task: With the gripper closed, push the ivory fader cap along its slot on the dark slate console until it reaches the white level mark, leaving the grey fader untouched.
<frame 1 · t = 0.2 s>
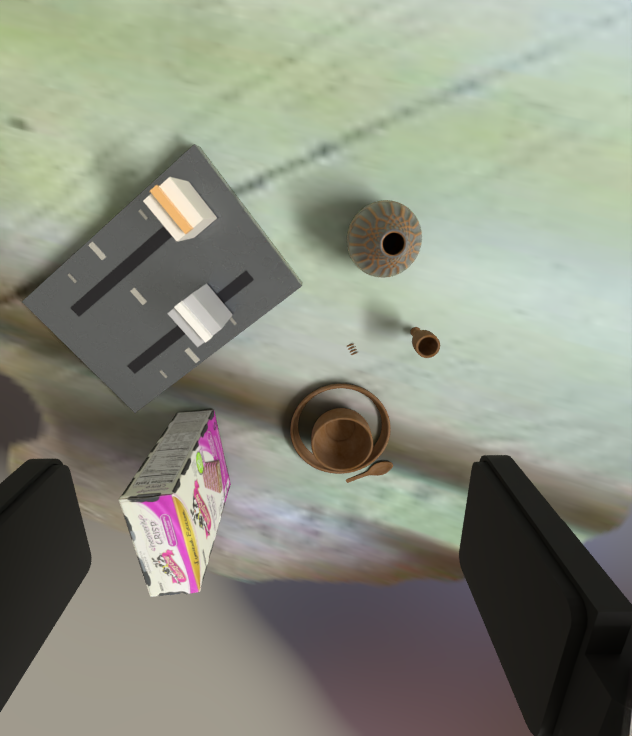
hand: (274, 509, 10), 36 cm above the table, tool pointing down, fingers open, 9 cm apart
place setting: (368, 408, 50), on the table
console: (167, 290, 44), on the table
grey fader: (201, 314, 40), point 5 cm above the table, slide at 5.0 cm
candy bar box: (206, 447, 51), on the table
vase: (377, 237, 43), on the table
ivory fader: (181, 210, 36), point 5 cm above the table, slide at 0.0 cm
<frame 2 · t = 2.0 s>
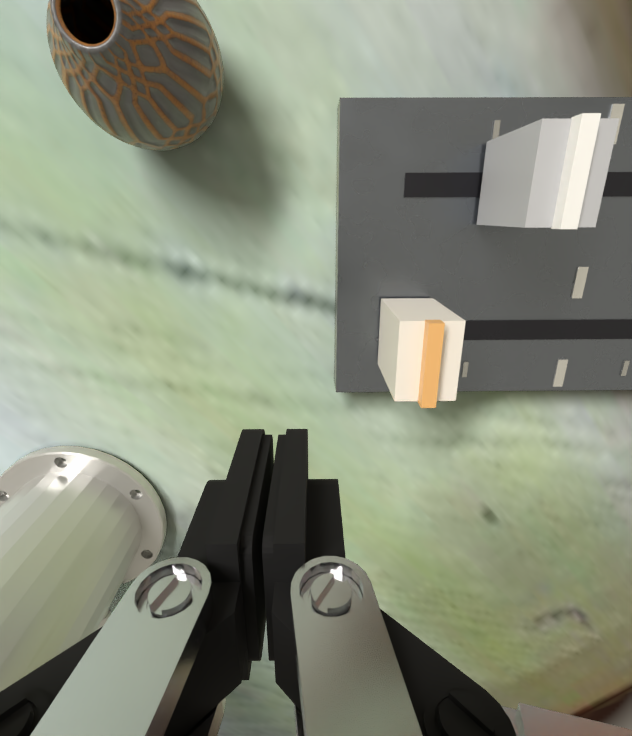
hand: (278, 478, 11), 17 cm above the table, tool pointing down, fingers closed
console: (531, 258, 25), on the table
grey fader: (539, 179, 19), point 5 cm above the table, slide at 5.0 cm
vase: (170, 87, 22), on the table
ivory fader: (416, 347, 22), point 5 cm above the table, slide at 0.0 cm
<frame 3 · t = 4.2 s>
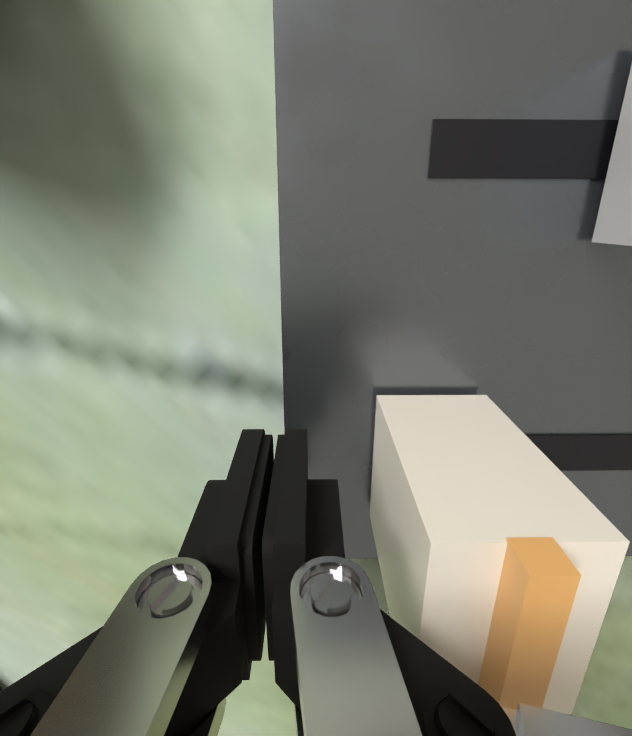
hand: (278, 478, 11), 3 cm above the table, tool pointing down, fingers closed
ivory fader: (460, 534, 9), point 5 cm above the table, slide at 0.1 cm, touching gripper
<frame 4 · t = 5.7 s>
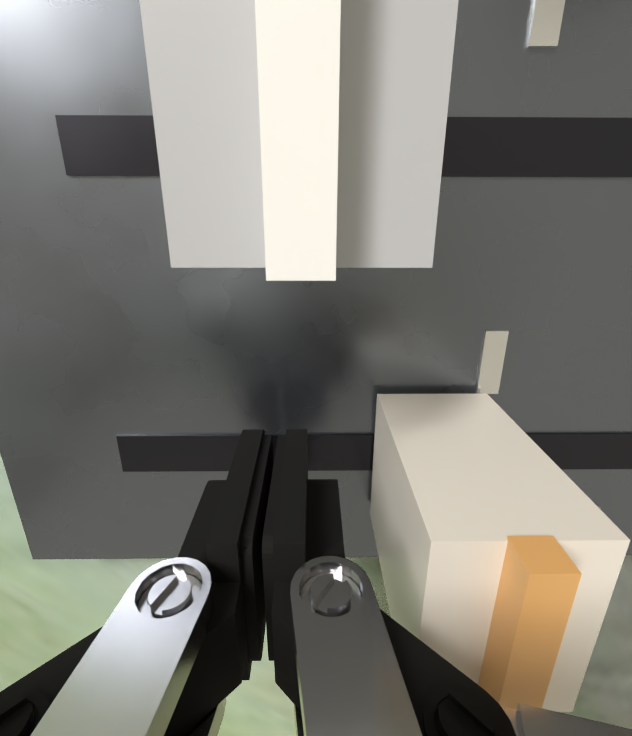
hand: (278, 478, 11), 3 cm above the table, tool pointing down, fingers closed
console: (405, 303, 13), on the table
grey fader: (303, 114, 6), point 5 cm above the table, slide at 5.0 cm
ivory fader: (460, 532, 9), point 5 cm above the table, slide at 8.4 cm, touching gripper
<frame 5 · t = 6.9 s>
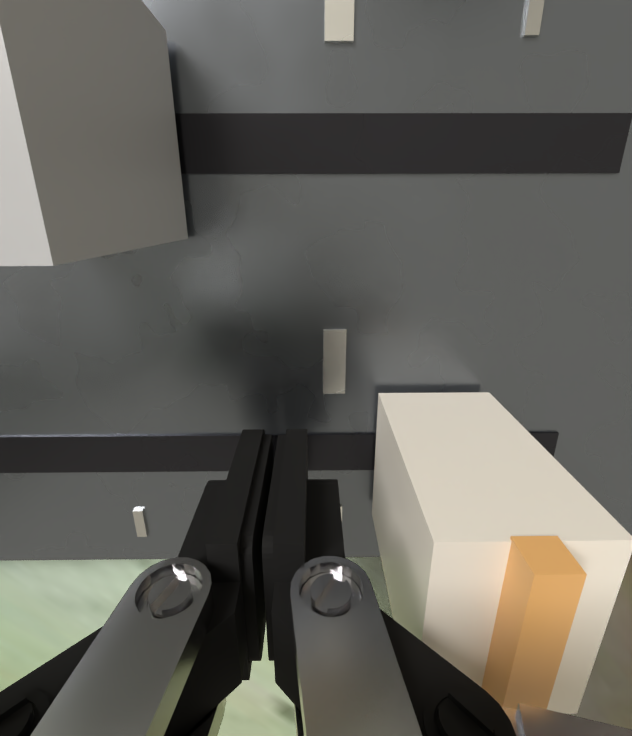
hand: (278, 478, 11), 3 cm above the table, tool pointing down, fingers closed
console: (265, 302, 13), on the table
grey fader: (15, 110, 6), point 5 cm above the table, slide at 5.0 cm
ivory fader: (463, 532, 9), point 5 cm above the table, slide at 12.7 cm, touching gripper
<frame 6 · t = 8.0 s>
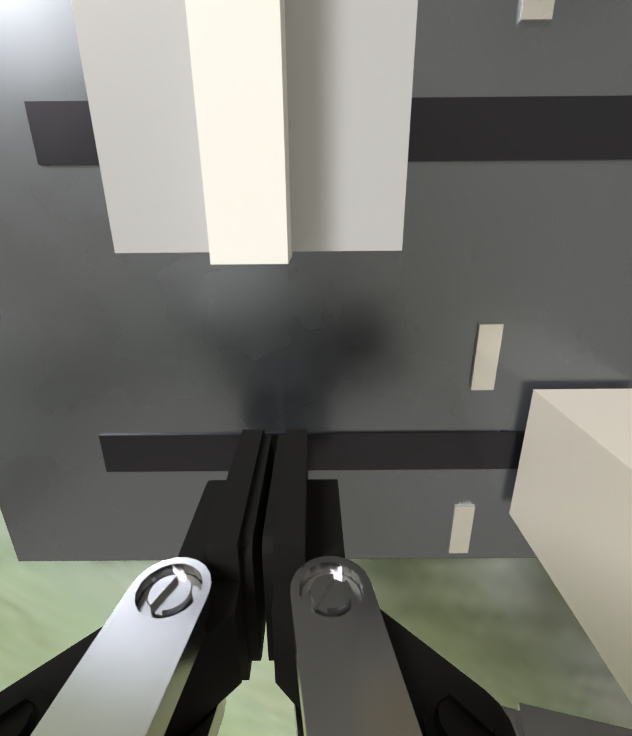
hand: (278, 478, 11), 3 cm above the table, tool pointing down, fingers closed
console: (397, 296, 12), on the table
grey fader: (272, 89, 6), point 5 cm above the table, slide at 5.0 cm
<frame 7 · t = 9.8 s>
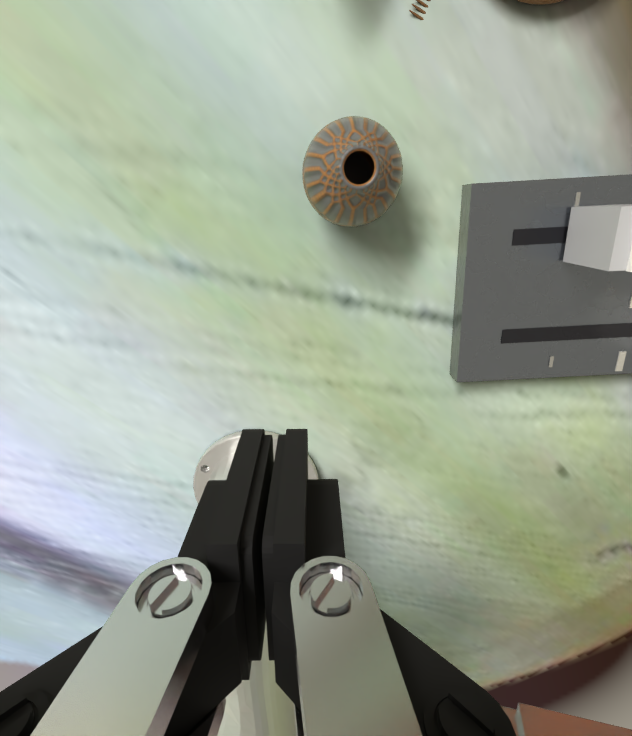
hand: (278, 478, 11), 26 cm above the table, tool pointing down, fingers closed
console: (596, 279, 35), on the table
grey fader: (613, 236, 29), point 5 cm above the table, slide at 5.0 cm
vase: (347, 178, 32), on the table
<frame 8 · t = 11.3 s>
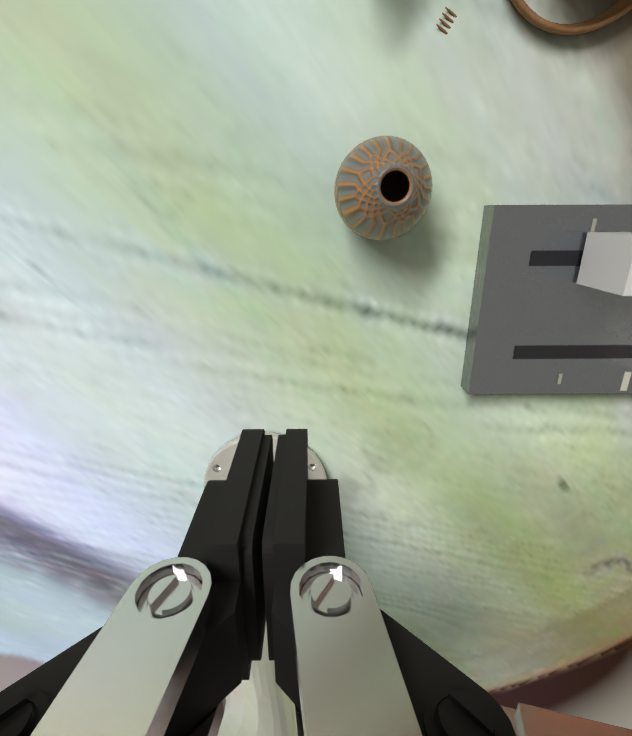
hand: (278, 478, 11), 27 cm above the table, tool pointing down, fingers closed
console: (606, 301, 37), on the table
grey fader: (627, 262, 30), point 5 cm above the table, slide at 5.0 cm
vase: (374, 193, 34), on the table
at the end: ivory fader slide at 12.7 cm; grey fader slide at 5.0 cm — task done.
